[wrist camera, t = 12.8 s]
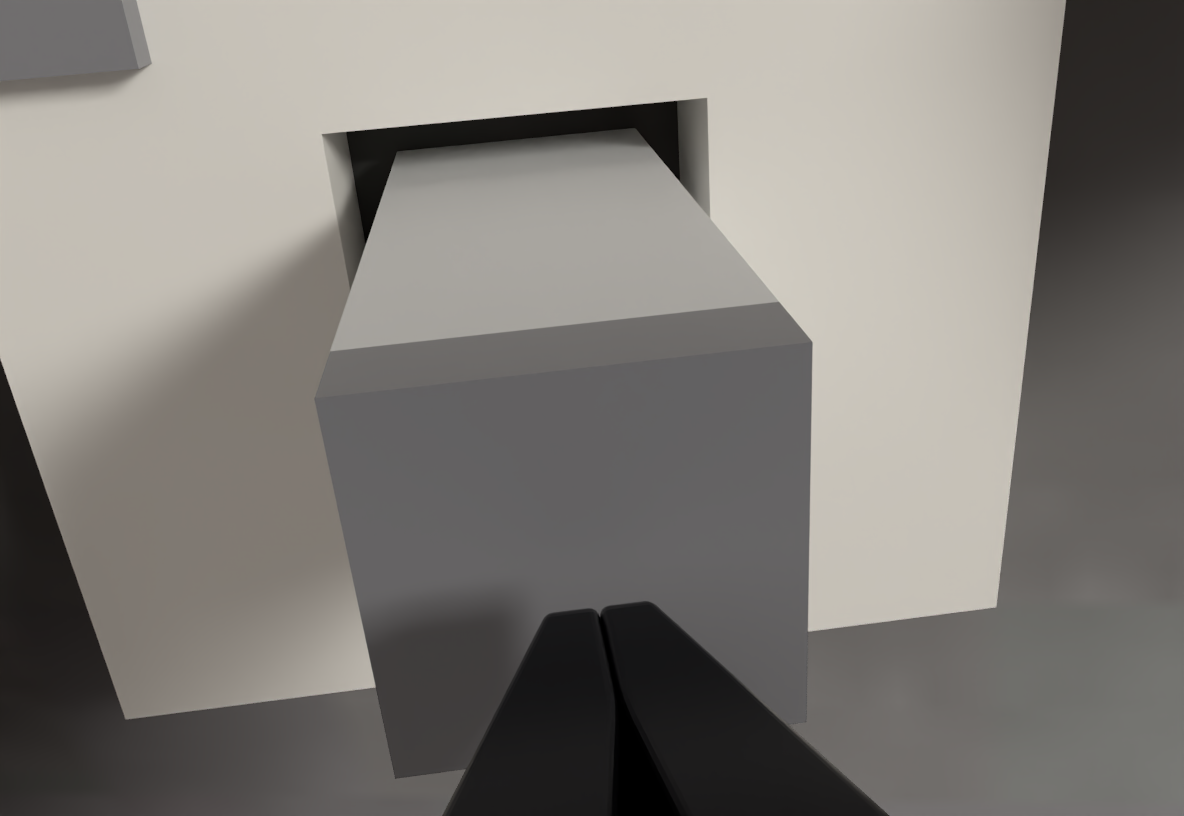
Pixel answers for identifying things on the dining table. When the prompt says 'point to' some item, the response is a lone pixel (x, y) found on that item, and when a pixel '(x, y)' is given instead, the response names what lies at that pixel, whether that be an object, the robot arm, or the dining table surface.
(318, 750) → the dining table surface
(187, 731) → the dining table surface
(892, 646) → the dining table surface
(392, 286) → the plug block
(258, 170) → the socket plate
